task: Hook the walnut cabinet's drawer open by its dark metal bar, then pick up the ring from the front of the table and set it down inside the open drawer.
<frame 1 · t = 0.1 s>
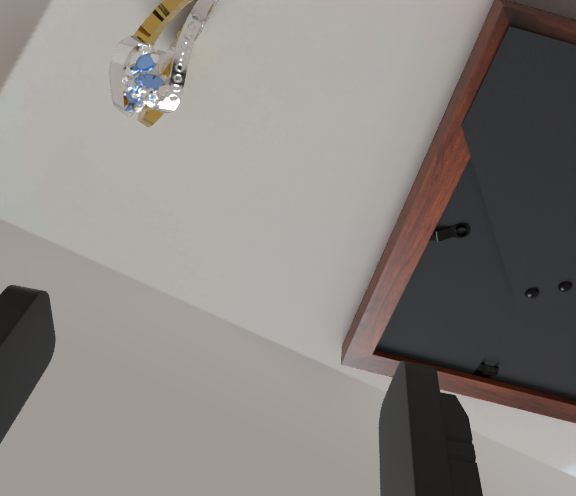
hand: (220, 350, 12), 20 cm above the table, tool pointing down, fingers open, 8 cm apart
picture frame: (555, 250, 34), on the table
ring: (192, 29, 28), on the table
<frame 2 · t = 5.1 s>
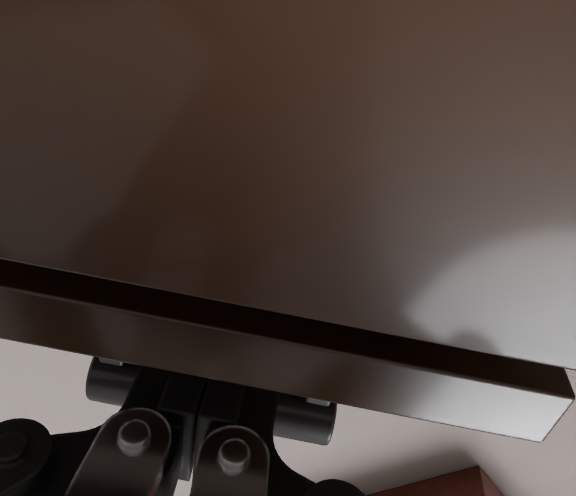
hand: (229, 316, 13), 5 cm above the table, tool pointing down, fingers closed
drawer: (264, 36, 9), point 5 cm above the table, slide at 1.4 cm, touching gripper
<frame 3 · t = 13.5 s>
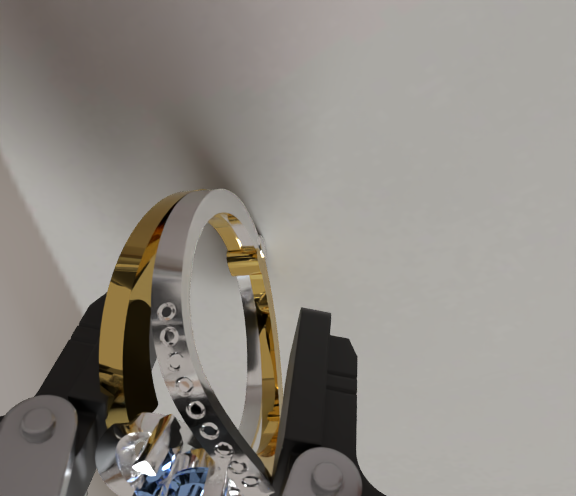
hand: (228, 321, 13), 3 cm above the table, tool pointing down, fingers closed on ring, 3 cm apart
ring: (251, 240, 16), on the table, touching gripper
when the fingers open (5 cm above the table, at t = 22.5 s): ring stays where it is, resting on drawer.
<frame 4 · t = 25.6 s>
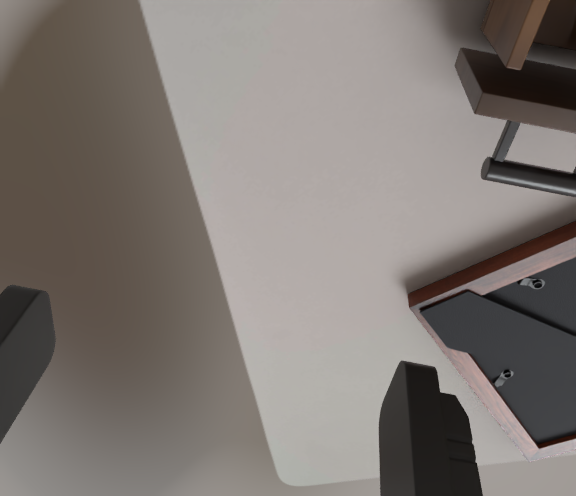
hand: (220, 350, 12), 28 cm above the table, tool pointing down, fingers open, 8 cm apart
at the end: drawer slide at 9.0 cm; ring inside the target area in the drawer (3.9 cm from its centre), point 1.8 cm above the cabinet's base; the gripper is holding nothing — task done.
